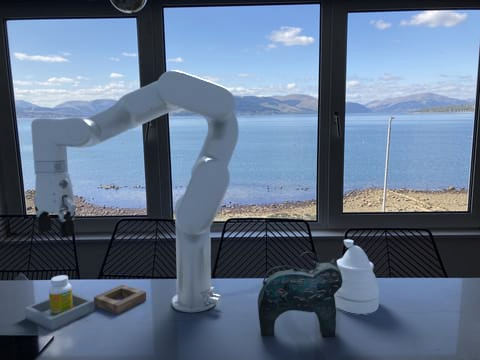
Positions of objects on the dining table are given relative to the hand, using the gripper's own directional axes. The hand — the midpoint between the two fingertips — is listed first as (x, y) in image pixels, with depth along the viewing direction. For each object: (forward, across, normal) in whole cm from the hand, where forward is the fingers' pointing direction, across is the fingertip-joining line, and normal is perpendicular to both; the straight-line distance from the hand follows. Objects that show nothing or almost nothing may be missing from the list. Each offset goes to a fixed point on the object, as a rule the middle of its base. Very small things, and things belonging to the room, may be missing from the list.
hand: (55, 233), depth 92 cm
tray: (+22, 0, 0) cm, 22 cm away
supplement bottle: (+22, 0, 0) cm, 22 cm away
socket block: (+22, -8, -13) cm, 27 cm away
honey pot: (+23, -65, -47) cm, 83 cm away
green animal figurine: (+23, -58, -24) cm, 66 cm away
